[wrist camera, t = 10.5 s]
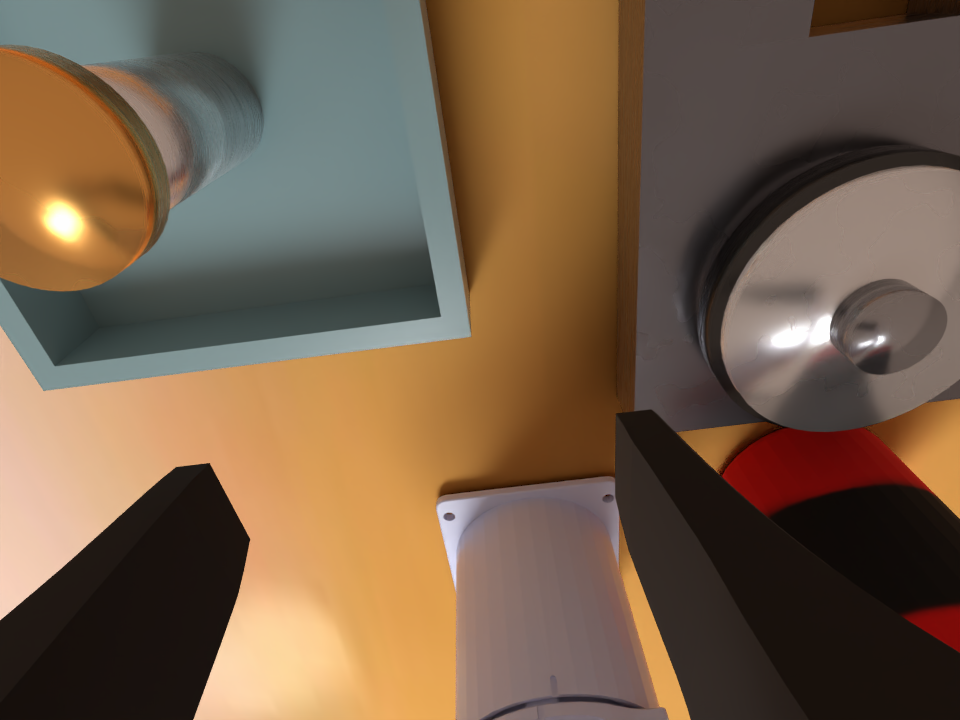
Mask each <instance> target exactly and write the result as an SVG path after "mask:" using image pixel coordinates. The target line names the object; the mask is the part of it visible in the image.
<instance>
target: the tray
mask: <svg viewBox="0 0 960 720" xmlns="http://www.w3.org/2000/svg"><path fill="white" fill-rule="evenodd" d="M9 44H10V45H22V46H29V47H34V48H39V49H43V50H46V51H49V52H52V53H55V54H58V55H61V56H63V57H65V58H67V59H69V60H71V61H73V62H75V63H77V64H79V65H85V64H93V63H102V62H110V61H118V60H127V59H135V58H143V57H152V56H160V55H168V54H177V53H185V52H204V53H209V54H212V55H215V56H218V57H220V58H222V59H224V60H226V61H227V62H229V63H230V64H232V65H233V66H234V67H236V68H237V69H238V70H239V71H240V72H241V73H242V74H243V75H244V76H245V77H246V78H247V80H248V81H249V82H250V84H251V85H252V87H253V88H254V90H255V92H256V94H257V96H258V98H259V101H260V104H261V107H262V111H263V118H264V128H263V135H262V138H261V141H260V143H259V146H258V147H257V149H256V150H255V152H254V153H253V154H252V155H251V156H250V157H249V158H248V159H246V160H245V161H243V162H242V163H240V164H239V165H237V166H236V167H234V168H233V169H231V170H230V171H228V172H227V173H225V174H224V175H222V176H221V177H219V178H217V179H216V180H214V181H213V182H211V183H210V184H208V185H207V186H205V187H204V188H202V189H201V190H199V191H198V192H196V193H195V194H193V195H192V196H190V197H189V198H187V199H186V200H184V201H182V202H181V203H179V204H178V205H176V206H175V207H173V208H172V209H170V211H169V215H168V220H167V223H166V226H165V228H164V231H163V233H162V235H161V236H160V238H159V239H158V241H157V242H156V244H155V245H154V246H153V247H152V248H151V249H150V250H149V251H148V252H147V253H145V254H144V255H143V256H142V257H140V258H139V259H138V260H136V261H135V262H134V263H132V264H131V265H130V266H128V267H127V268H126V269H124V270H123V271H122V272H120V273H119V274H117V275H116V276H115V277H113V278H112V279H110V280H108V281H106V282H104V283H103V284H100V285H97V286H94V287H92V288H88V289H82V290H77V291H48V290H41V289H35V288H31V287H27V286H23V285H19V284H16V283H14V282H11V281H8V280H5V279H3V278H0V326H1V327H2V329H3V330H4V332H5V333H6V335H7V336H8V338H9V339H10V341H11V342H12V344H13V345H14V347H15V348H16V350H17V351H18V353H19V354H20V356H21V357H22V359H23V360H24V362H25V363H26V365H27V366H28V368H29V369H30V371H31V372H32V374H33V375H34V377H35V378H36V380H37V382H38V383H39V385H40V386H41V388H42V389H43V391H46V390H54V389H62V388H70V387H78V386H86V385H94V384H101V383H109V382H117V381H125V380H133V379H141V378H149V377H157V376H165V375H173V374H181V373H188V372H196V371H204V370H212V369H220V368H228V367H236V366H244V365H252V364H260V363H268V362H275V361H283V360H291V359H299V358H307V357H315V356H323V355H331V354H339V353H347V352H355V351H363V350H370V349H378V348H386V347H394V346H402V345H410V344H418V343H426V342H434V341H442V340H450V339H457V338H465V337H471V318H470V295H469V288H468V281H467V274H466V268H465V261H464V254H463V248H462V241H461V234H460V228H459V221H458V214H457V208H456V201H455V194H454V187H453V181H452V174H451V167H450V161H449V154H448V147H447V141H446V134H445V127H444V121H443V114H442V107H441V100H440V94H439V87H438V80H437V74H436V67H435V60H434V54H433V47H432V40H431V34H430V27H429V20H428V13H427V7H426V0H0V45H9Z"/></svg>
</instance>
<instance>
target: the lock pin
mask: <svg viewBox="0 0 960 720" xmlns="http://www.w3.org/2000/svg"><path fill="white" fill-rule="evenodd" d="M263 128H264V118H263V111H262V107H261V104H260V101H259V98H258V96H257V94H256V92H255V90H254V88H253V87H252V85H251V84H250V82H249V81H248V80H247V78H246V77H245V76H244V75H243V74H242V73H241V72H240V71H239V70H238V69H237V68H236V67H234V66H233V65H232V64H230V63H229V62H227V61H226V60H224V59H222V58H220V57H218V56H215V55H212V54H209V53H204V52H185V53H177V54H168V55H160V56H152V57H143V58H135V59H127V60H118V61H110V62H102V63H93V64H85V65H79V64H77V63H75V62H73V61H71V60H69V59H67V58H65V57H63V56H61V55H58V54H55V53H52V52H49V51H46V50H43V49H39V48H34V47H29V46H22V45H10V44H9V45H0V278H3V279H5V280H8V281H11V282H14V283H16V284H19V285H23V286H27V287H31V288H35V289H41V290H48V291H77V290H82V289H88V288H92V287H94V286H97V285H100V284H103V283H104V282H106V281H108V280H110V279H112V278H113V277H115V276H116V275H117V274H119V273H120V272H122V271H123V270H124V269H126V268H127V267H128V266H130V265H131V264H132V263H134V262H135V261H136V260H138V259H139V258H140V257H142V256H143V255H144V254H145V253H147V252H148V251H149V250H150V249H151V248H152V247H153V246H154V245H155V244H156V242H157V241H158V239H159V238H160V236H161V235H162V233H163V231H164V228H165V226H166V223H167V220H168V215H169V211H170V209H172V208H173V207H175V206H176V205H178V204H179V203H181V202H182V201H184V200H186V199H187V198H189V197H190V196H192V195H193V194H195V193H196V192H198V191H199V190H201V189H202V188H204V187H205V186H207V185H208V184H210V183H211V182H213V181H214V180H216V179H217V178H219V177H221V176H222V175H224V174H225V173H227V172H228V171H230V170H231V169H233V168H234V167H236V166H237V165H239V164H240V163H242V162H243V161H245V160H246V159H248V158H249V157H250V156H251V155H252V154H253V153H254V152H255V150H256V149H257V147H258V146H259V143H260V141H261V138H262V135H263Z"/></svg>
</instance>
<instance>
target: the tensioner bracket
mask: <svg viewBox="0 0 960 720" xmlns="http://www.w3.org/2000/svg"><path fill="white" fill-rule="evenodd" d="M814 2H815V0H619V79H618V274H617V398H618V401H619V403H620V405H621V408H622V410H623V412H624V413H625V412H633V411H641V410H649V409H652V410H653V411H654V412H656V413H657V414H658V415H659V416H660V417H661V418H662V419H663V420H664V421H665V422H666V423H667V424H668V425H669V426H670V427H671V428H672V429H673V430H674V431H675V432H681V431H689V430H698V429H706V428H714V427H723V426H731V425H740V424H748V423H757V422H768V423H772V424H775V425H779V426H782V427H789V428H793V429H798V430H804V431H814V432H832V431H844V430H851V429H857V428H862V427H865V426H869V425H873V424H877V423H880V422H883V421H886V420H889V419H891V418H894V417H897V416H899V415H901V414H903V413H906V412H908V411H910V410H912V409H914V408H916V407H918V406H920V405H922V404H924V403H926V402H935V401H943V400H951V399H960V0H909V4H908V8H907V12H906V14H901V15H894V16H887V17H880V18H873V19H866V20H860V21H853V22H846V23H839V24H832V25H825V26H818V27H811V28H810V26H811V20H812V14H813V8H814Z"/></svg>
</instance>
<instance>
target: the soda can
mask: <svg viewBox="0 0 960 720" xmlns="http://www.w3.org/2000/svg"><path fill="white" fill-rule="evenodd" d="M722 478H724V479H725V480H726V481H727V482H728V483H729V484H730V485H731V486H733V487H734V488H735V489H736V490H737V491H738V492H739V493H740V494H741V495H743V496H744V497H745V498H746V499H747V500H748V501H749V502H750V503H752V504H753V505H754V506H755V507H756V508H757V509H759V510H760V511H761V512H762V513H763V514H765V515H766V516H767V517H768V518H769V519H770V520H772V521H773V522H774V523H775V524H777V525H778V526H779V527H780V528H782V529H783V530H784V531H785V532H787V533H788V534H789V535H790V536H791V537H793V538H794V539H795V540H796V541H798V542H799V543H800V544H801V545H803V546H804V547H805V548H807V549H808V550H809V551H810V552H812V553H813V554H814V555H816V556H817V557H818V558H820V559H821V560H822V561H824V562H825V563H826V564H828V565H829V566H830V567H832V568H833V569H834V570H836V571H837V572H839V573H840V574H841V575H843V576H844V577H846V578H847V579H848V580H850V581H851V582H853V583H854V584H855V585H857V586H858V587H860V588H861V589H862V590H864V591H865V592H867V593H868V594H869V595H871V596H872V597H874V598H875V599H877V600H878V601H880V602H881V603H883V604H884V605H886V606H887V607H889V608H890V609H892V610H893V611H895V612H896V613H898V614H899V615H901V616H902V617H904V618H905V619H907V620H908V621H910V622H911V623H913V624H915V625H916V626H918V627H919V628H921V629H923V630H924V631H926V632H928V633H929V634H931V635H932V636H934V637H936V638H937V639H939V640H940V641H942V642H944V643H945V644H947V645H948V646H950V647H952V648H953V649H955V650H957V651H958V652H960V519H959V518H958V517H957V516H956V515H955V514H954V513H953V512H952V511H951V510H950V509H949V508H948V507H947V506H946V505H945V504H944V503H943V502H942V501H941V500H940V499H939V498H938V497H937V496H936V495H935V494H934V493H933V492H932V491H931V490H930V489H929V488H928V487H927V486H926V485H925V484H924V483H923V482H922V481H921V480H920V479H919V478H918V477H917V476H916V475H915V474H914V473H913V472H912V471H911V470H910V469H909V468H908V467H907V466H906V465H905V464H904V463H903V462H902V461H901V460H900V459H899V458H898V457H897V456H896V455H895V454H894V453H893V452H892V451H891V450H890V449H889V448H888V447H887V446H886V445H885V444H884V443H883V442H882V441H881V440H880V439H879V438H878V437H877V436H875V435H874V434H872V433H871V432H870V431H868V430H867V429H864V428H857V429H851V430H844V431H832V432H814V431H804V430H798V429H793V428H789V427H785V428H782V429H779V430H777V431H774V432H772V433H770V434H768V435H766V436H764V437H762V438H760V439H759V440H757V441H755V442H754V443H752V444H751V445H749V446H748V447H747V448H745V449H744V450H743V451H742V452H741V453H739V454H738V455H737V456H736V457H735V458H734V460H733V461H732V462H731V463H730V464H729V465H728V467H727V468H726V470H725V471H724V473H723V475H722Z"/></svg>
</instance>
